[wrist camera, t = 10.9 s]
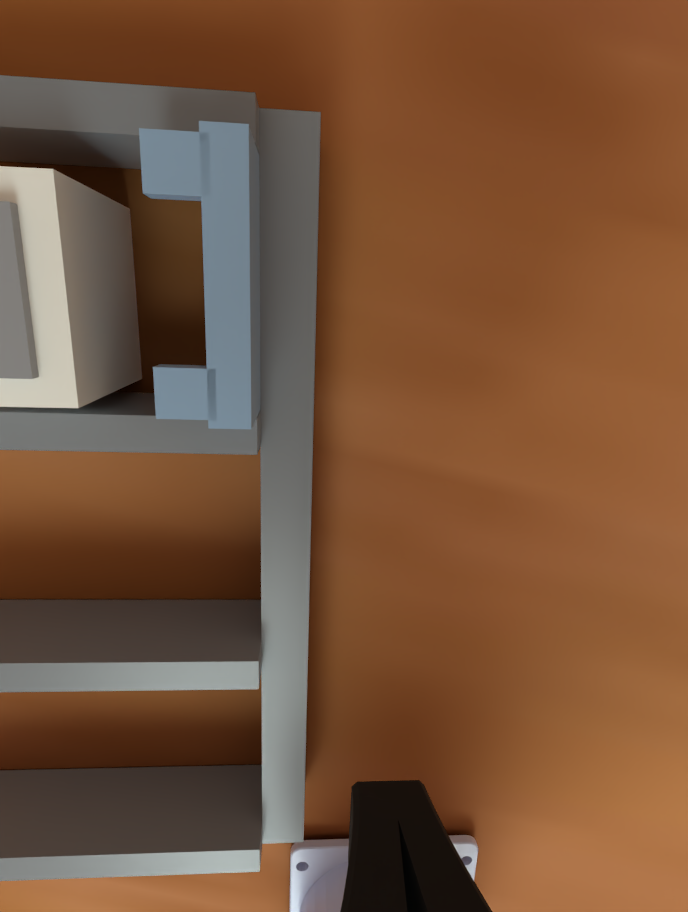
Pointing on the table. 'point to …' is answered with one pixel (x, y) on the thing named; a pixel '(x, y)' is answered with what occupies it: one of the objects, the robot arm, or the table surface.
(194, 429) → the e-shaped shelf rack
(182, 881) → the table surface
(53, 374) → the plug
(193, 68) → the table surface
